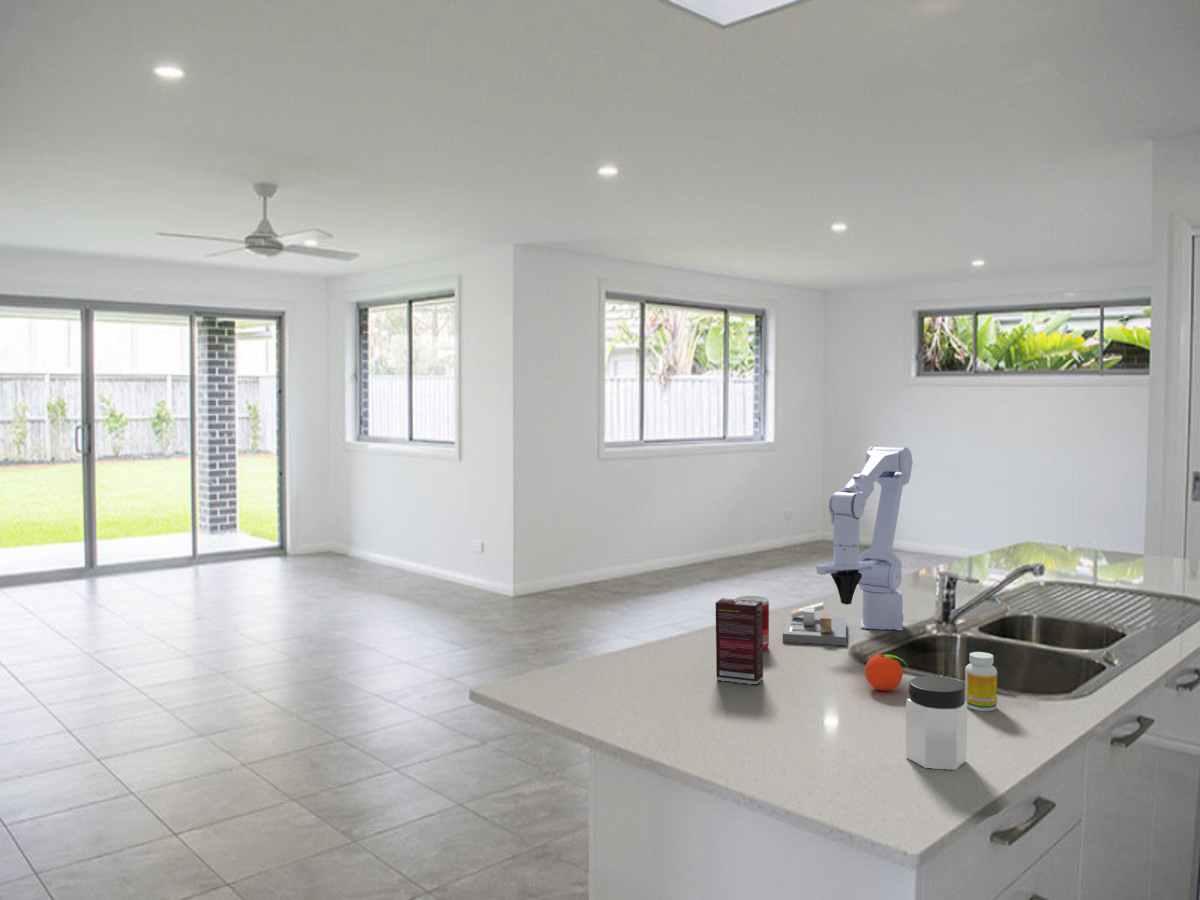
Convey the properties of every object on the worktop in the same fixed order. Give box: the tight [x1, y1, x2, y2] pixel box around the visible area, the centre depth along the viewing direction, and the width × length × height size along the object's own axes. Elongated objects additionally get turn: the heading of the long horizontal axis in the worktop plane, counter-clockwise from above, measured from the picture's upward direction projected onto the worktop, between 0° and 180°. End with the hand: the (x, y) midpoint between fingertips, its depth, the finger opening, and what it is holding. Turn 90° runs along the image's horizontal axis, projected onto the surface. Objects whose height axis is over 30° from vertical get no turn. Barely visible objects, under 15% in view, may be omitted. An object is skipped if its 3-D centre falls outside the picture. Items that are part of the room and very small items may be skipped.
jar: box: [905, 675, 968, 771], centre depth 141 cm, size 9×8×12 cm
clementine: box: [864, 653, 909, 692], centre depth 175 cm, size 8×7×7 cm
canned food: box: [734, 595, 770, 652], centre depth 205 cm, size 8×8×11 cm
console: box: [782, 613, 847, 646], centre depth 217 cm, size 14×19×3 cm
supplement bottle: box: [964, 651, 998, 712], centre depth 165 cm, size 5×5×10 cm
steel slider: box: [803, 608, 816, 626], centre depth 217 cm, size 2×4×3 cm, turn 165°
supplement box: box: [714, 597, 764, 685], centre depth 182 cm, size 9×5×16 cm, turn 65°
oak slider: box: [819, 613, 832, 633], centre depth 211 cm, size 2×4×3 cm, turn 165°
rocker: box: [790, 601, 826, 618], centre depth 223 cm, size 8×4×1 cm, turn 74°
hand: (846, 603), depth 209 cm, fingers closed
